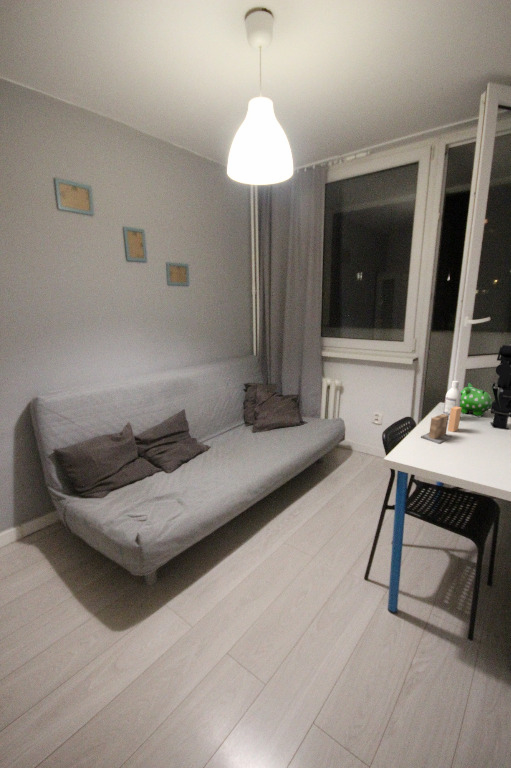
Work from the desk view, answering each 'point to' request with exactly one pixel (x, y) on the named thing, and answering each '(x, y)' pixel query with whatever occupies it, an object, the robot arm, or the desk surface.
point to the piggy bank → (475, 401)
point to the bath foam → (452, 398)
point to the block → (454, 419)
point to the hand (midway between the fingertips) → (499, 406)
